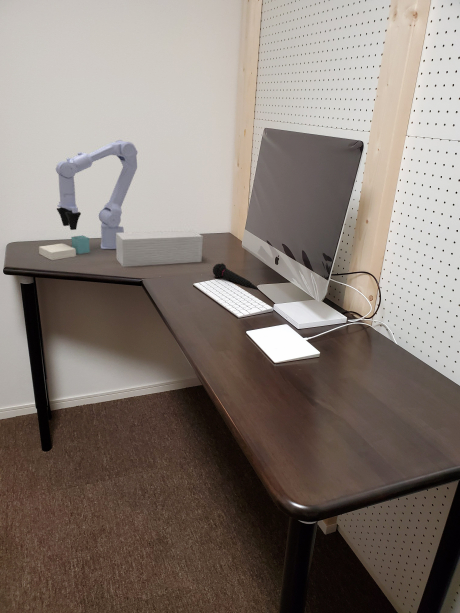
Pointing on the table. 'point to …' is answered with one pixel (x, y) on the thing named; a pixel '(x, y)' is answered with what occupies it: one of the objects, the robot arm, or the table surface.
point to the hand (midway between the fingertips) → (69, 227)
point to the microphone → (231, 276)
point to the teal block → (80, 244)
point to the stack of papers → (158, 247)
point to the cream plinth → (57, 251)
